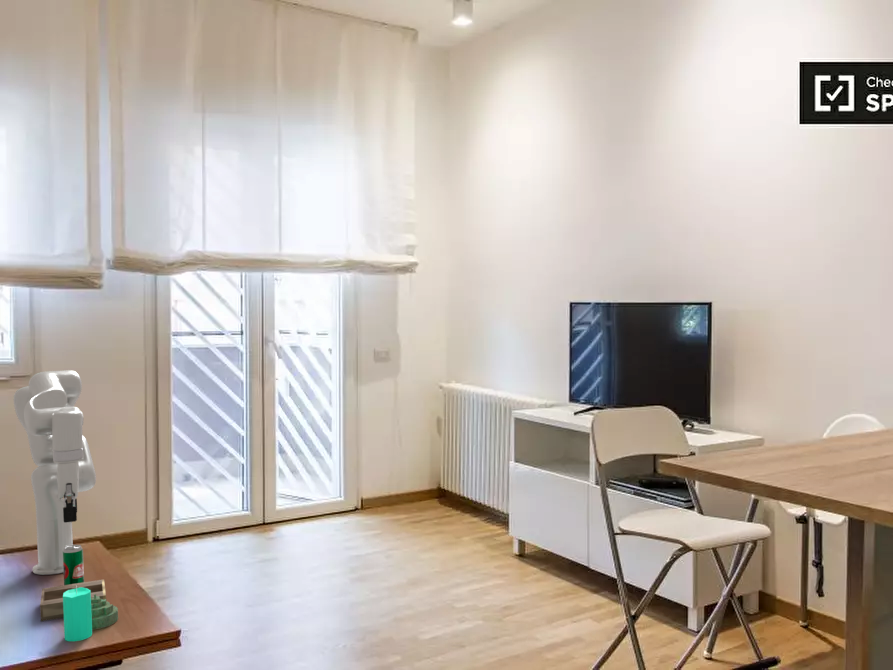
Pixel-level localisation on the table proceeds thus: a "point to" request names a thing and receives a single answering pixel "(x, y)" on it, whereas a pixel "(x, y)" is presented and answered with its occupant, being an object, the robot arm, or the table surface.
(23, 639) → the table surface
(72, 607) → the candle
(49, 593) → the open cardboard box
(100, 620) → the decorative artifact
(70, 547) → the soda can
